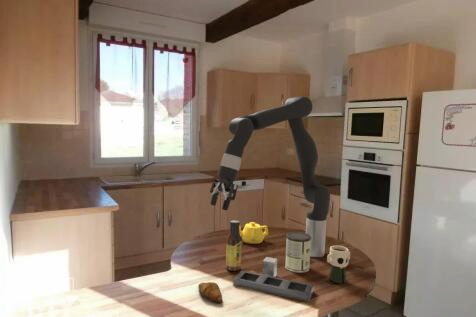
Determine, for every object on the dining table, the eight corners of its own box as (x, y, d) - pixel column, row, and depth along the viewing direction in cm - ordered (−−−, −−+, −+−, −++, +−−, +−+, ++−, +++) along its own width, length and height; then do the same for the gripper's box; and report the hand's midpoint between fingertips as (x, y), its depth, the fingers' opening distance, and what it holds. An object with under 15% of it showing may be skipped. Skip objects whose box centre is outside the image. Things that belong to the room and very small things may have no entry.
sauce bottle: (239, 272, 135) (240, 224, 134) (224, 270, 137) (225, 222, 135) (242, 266, 142) (243, 220, 140) (227, 264, 143) (229, 218, 141)
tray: (241, 276, 131) (241, 270, 131) (313, 291, 121) (313, 285, 121) (233, 285, 124) (233, 278, 124) (309, 301, 113) (309, 294, 113)
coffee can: (287, 261, 149) (288, 230, 148) (310, 265, 145) (312, 233, 144) (282, 270, 139) (284, 237, 138) (307, 274, 136) (309, 240, 135)
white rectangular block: (265, 273, 135) (266, 256, 135) (276, 275, 134) (277, 258, 133) (262, 278, 131) (262, 260, 130) (273, 280, 129) (274, 262, 129)
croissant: (229, 301, 112) (229, 287, 112) (212, 307, 108) (212, 292, 108) (208, 286, 123) (208, 272, 122) (191, 290, 119) (192, 277, 118)
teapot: (234, 241, 174) (234, 222, 173) (250, 235, 184) (250, 217, 184) (255, 247, 165) (255, 228, 164) (270, 241, 176) (271, 222, 175)
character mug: (332, 286, 125) (334, 253, 124) (320, 279, 132) (322, 246, 131) (354, 282, 130) (356, 250, 129) (342, 275, 136) (344, 244, 135)
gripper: (248, 171, 127) (236, 213, 126) (227, 167, 138) (216, 205, 137) (232, 167, 122) (220, 210, 121) (212, 162, 134) (201, 201, 133)
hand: (218, 207), depth 129 cm, fingers open, 8 cm apart
